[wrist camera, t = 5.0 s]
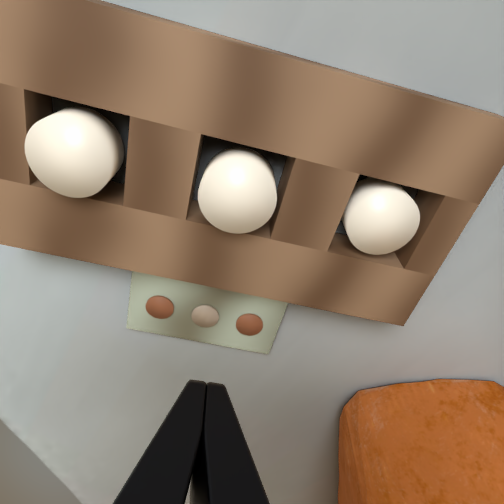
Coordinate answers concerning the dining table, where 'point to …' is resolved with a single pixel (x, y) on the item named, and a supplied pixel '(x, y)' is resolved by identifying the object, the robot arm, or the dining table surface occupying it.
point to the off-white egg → (237, 190)
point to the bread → (423, 444)
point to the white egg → (380, 216)
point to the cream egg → (74, 151)
